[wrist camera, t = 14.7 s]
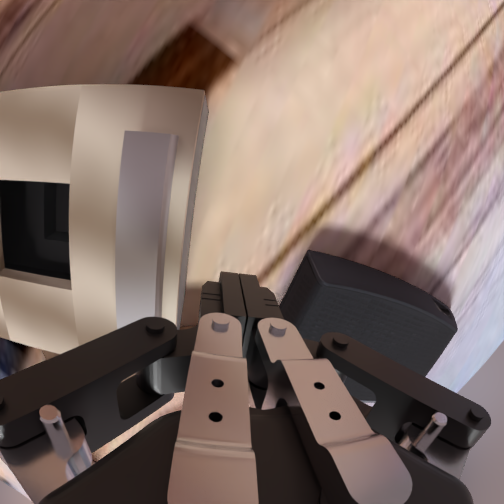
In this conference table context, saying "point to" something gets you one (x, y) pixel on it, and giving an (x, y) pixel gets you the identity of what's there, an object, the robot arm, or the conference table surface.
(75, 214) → the lid
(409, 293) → the external hard drive
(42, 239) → the toolbox
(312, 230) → the conference table surface
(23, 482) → the robot arm
